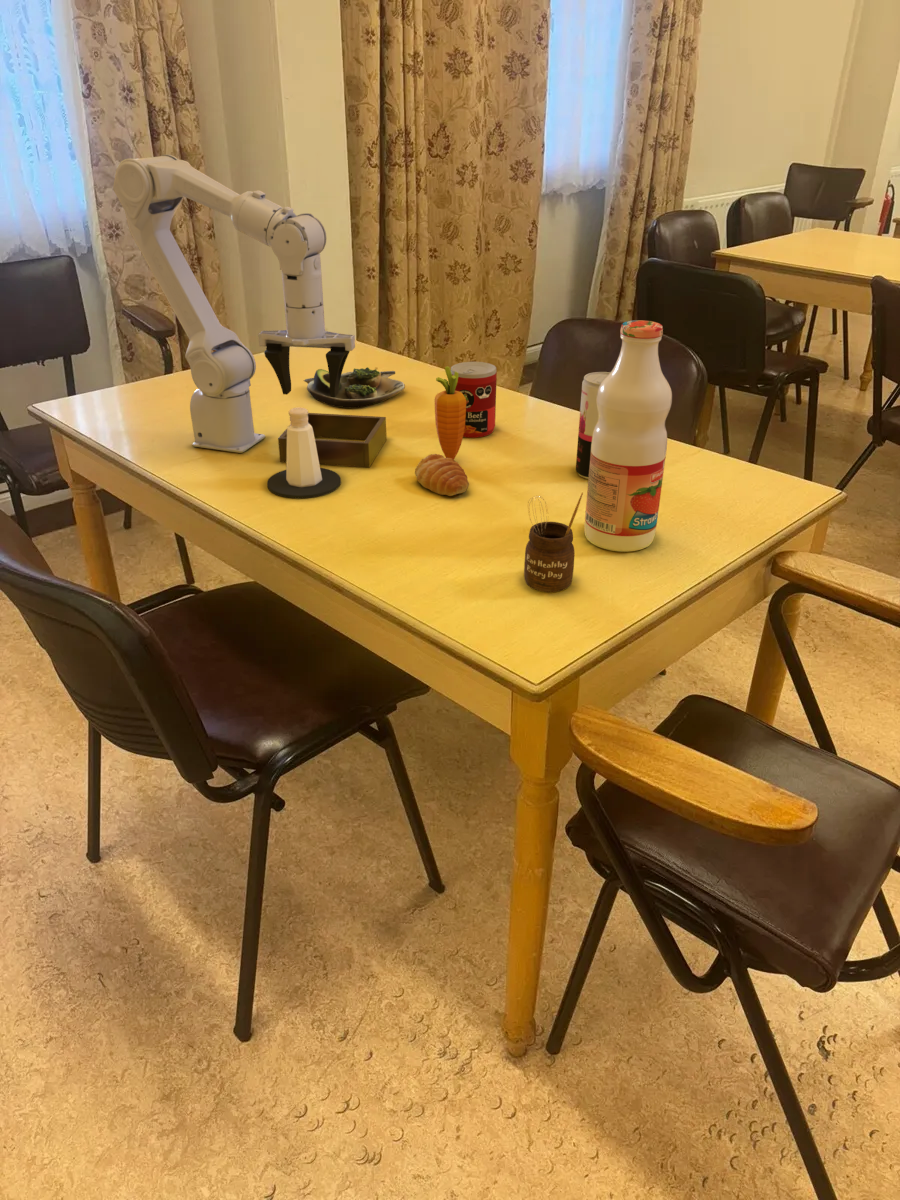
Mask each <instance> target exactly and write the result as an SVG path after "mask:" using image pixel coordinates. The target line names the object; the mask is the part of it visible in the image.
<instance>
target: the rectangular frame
mask: <svg viewBox="0 0 900 1200" xmlns="http://www.w3.org/2000/svg"><path fill="white" fill-rule="evenodd" d="M308 423H309V424H310V425H311V426H312V428H313V432H314V438H315V443H316V448H317V454H318V459H319V465H323V466H340V467H356V468H368V469H370V468H371V466H372V464H373V463H374V461H375V460H376V458H377V456H378V455H379V453H380V451H381V450H382V448H383V447H384V444H385V443H386V441H387V440H388V439H387V417H386V416H373V415H359V414H338V413H320V412H308ZM277 444H278V453H279V462H280V463H287V428H286V429H285V430H284V431H283V432H282V433H281V434H280V435H279V436H278V437H277Z"/></svg>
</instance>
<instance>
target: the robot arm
mask: <svg viewBox="0 0 900 1200" xmlns="http://www.w3.org/2000/svg"><path fill="white" fill-rule="evenodd" d="M115 169H116V170H115V175H114V180H113V187H112V191H113V192H114V193H115V196H116V197H117V199H118V201H119V203H120V204H121V207H122V208H123V210H124V213H125V218H126V223H127V226H128V230H129V233H130V235H131V237H132V239H133V240H134V243H135V244H136V246H137V248H138V249H139V251H140V253H141V256H142V257H143V258H144V260H145V262H146V264H147V266H148V268H149V269H150V271H151V273H152V275H153V277H154V279H155V280H156V282H157V284H158V286H159V287H160V289H161V291H162V293H163V295H164V297H165V298H166V300H167V302H168V303H169V305H170V307H171V309H172V311H173V313H174V315H175V317H176V319H177V320H178V323H180V325H181V327H182V329H183V331H184V332H185V334H186V336H187V338H188V341H189V343H188V346H187V348H186V352H185V355H184V357H185V360H186V361H187V363H188V365H189V368H190V374H191V379H192V382H193V384H194V385H195V387H196V390H194V392H193V393H192V395H191V398H190V401H189V402H190V403H189V411H190V418H191V423H192V424H191V425H192V432H193V438H194V442H192V447H196V448H201V449H209V450H217V451H224V452H231V453H239V454H242V453H245V452H246V451H247V450H249V449H250V448H252V447H253V446H255V445H256V444H258V443H259V442H261V441H262V440H263V439H265V438H266V435H265V434H263V433H256V432H255V427H254V417H253V408H252V400H251V399H252V398H251V392H250V387H251V385H252V384H251V379H252V378H254V376H255V374H256V369H257V363H256V359H255V356H254V354H253V352H252V351H251V349H249V348H248V347H247V346H246V345H244V343H243V342H242V341H241V339H240V338H239V335H237V333H236V332H235V331H233V330H232V329H229V328H228V327H225V326H224V325H222V324H221V322H220V320H219V319H218V317H217V315H216V313H215V311H214V309H213V307H212V306H211V304H210V302H209V300H208V298H207V296H206V295H205V292H204V291H203V289H202V287H201V285H200V284H199V281H198V280H197V277H196V276H195V274H194V273H193V271H192V269H191V267H190V265H189V263H188V261H187V260H186V258H185V255H184V254H183V252H182V250H181V248H180V246H179V244H178V242H177V241H176V239H175V237H174V235H173V233H172V231H171V224H172V221H173V218H174V216H175V215H176V213H177V211H178V209H179V207H180V205H181V203H183V200H184V198H187V199H189V200H191V201H192V202H195V203H198V204H200V205H202V206H204V207H206V208H209V209H211V210H214V211H216V212H218V213H220V214H222V215H224V216H226V217H229V218H230V219H231V222H232V226H233V228H235V230H237V231H238V232H240V233H242V234H244V235H245V236H248V237H250V238H252V239H254V240H256V241H259V242H260V243H262V244H264V245H265V246H267V247H269V248H271V250H272V252H273V253H274V255H275V256H276V258H277V259H278V262H279V270H280V271H281V281H282V291H283V304H284V315H285V326H286V329H281V330H280V329H279V330H261V331H260V332H258V334H257V337H258V338H257V339H258V346H259V347H265V350H264V352H263V353H264V357H265V358H266V360H267V361H268V362H269V364H270V366H271V368H272V369H273V372H274V373H275V375H276V378H277V380H278V382H279V386H280V388H281V392H282V394H283V395H286V396H288V394H289V393H290V392H291V391H292V380H291V370H290V351H291V350H290V349H291V348H292V347H293V348H309V349H311V348H312V349H328V351H327V353H325V359H326V363H327V369H328V370H327V371H328V372H329V378H330V396H331V397H336V396H337V395H338V392H339V383H340V378H341V374H343V369H344V366H345V364H346V361H347V358H348V356H349V354H350V352H352V351H353V350H354V349H356V336H355V334H349V333H348V334H347V333H339V332H335V331H334V332H333V331H327V330H326V323H325V311H324V310H325V308H324V306H325V305H324V293H323V291H324V290H323V278H322V277H323V276H322V261H321V260H322V259H321V253H322V252H323V251H324V249H325V247H326V246H327V245H326V244H327V232H326V229H325V226H324V224H323V223H322V221H320V220H319V219H318V218H317V217H316V216H314V215H313V214H312V213H310V212H304V213H300V214H296V213H295V212H294V208H293V207H290V206H288V205H287V206H282V205H279V204H278V203H276V202H274V201H272V200H270V199H268V198H267V197H266V192H263V191H262V190H260V189H258V190H247V191H244V192H243V193H241V194H240V193H238V192H236V191H235V190H233V189H231V188H229V187H227V186H226V185H224V184H223V183H221V182H219V181H217V180H215V179H214V178H212V177H211V176H208V175H207V174H205V173H203V172H202V171H200V170H198V169H196V168H195V167H193V166H192V165H191V164H190V163H189V161H188V160H187V161H186V160H183V159H179V158H178V157H176V156H175V155H173V154H161V155H159V156H150V157H143V158H125V159H123V160H121V161H120V162H119V163H118V164H117V167H116V168H115Z"/></svg>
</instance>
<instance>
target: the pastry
mask: <svg viewBox="0 0 900 1200" xmlns="http://www.w3.org/2000/svg"><path fill="white" fill-rule="evenodd" d="M414 475H415V477H416V480H417V482H418V483H419V484H420V485H421V487H423V488H425V489H428V490H429V491H430V492H432V493H433V492H434V493H435V494H437V495H440V496H441V495H442V496H444V495H445V496H449V497H452V496H456V495H458V494H462V493H465V492H467V490H468V488H469V486H470V482H469V480H468V475H467V474H466V471H465V468H463V467H462V466H461V465H460V464H459V463H458V461H455V459H454V460H453V459H452V458H446V457H445V455H444V454H440V453H439V454H438V453H433V454H428V455H426V456H425V457H424V458H422V459H421V460H420V461H419V462H418V464H417V465H416V467H415V469H414Z"/></svg>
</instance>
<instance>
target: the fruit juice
mask: <svg viewBox="0 0 900 1200" xmlns="http://www.w3.org/2000/svg"><path fill="white" fill-rule="evenodd" d="M663 330H664V328H663V324H661V323H659V322H656V321H652V320H639V319H638V320H628V321H624V322H623V323H621V325H620V332H619V333H620V339H621V347H620V352H619V354H618V357H617V360H616V362H615V364H614V366H613V368H612V369H611V371H609V372H610V373H609V374H608V375H607V376H606V378H605V379H604V380H603V381H602V383H601V384H600V386H599V389H598V393H597V408H598V413H599V420H598V422H597V424H596V426H595V428H594V432H593V437H592V444H591V456H590V468H589V479H587V489H586V490H587V492H586V502H585V515H584V525H583V527H584V535H585V538H586V540H587V541H588V542H589V543H591V544H592V545H594V546H596V547H598V548H601V549H604V550H608V551H613V552H622V553H623V552H624V553H625V552H627V553H628V552H635V551H640V550H643V549H645V548H648V547H649V546H650V545H651V544H652V543H653V542H654V539H655V536H656V533H657V524H658V517H659V511H660V503H661V494H662V487H663V480H664V470H665V465H666V458H667V453H668V452H667V450H668V431H667V428H666V420H667V417H668V416H669V413H670V410H671V408H672V404H673V391H672V388H671V386H670V384H669V381H668V380H667V378H666V377H665V375H664V374H663V371H662V368H661V363H660V358H659V343H660V342H661V341H662V337H663V336H664V335H663V334H664V331H663Z"/></svg>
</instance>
